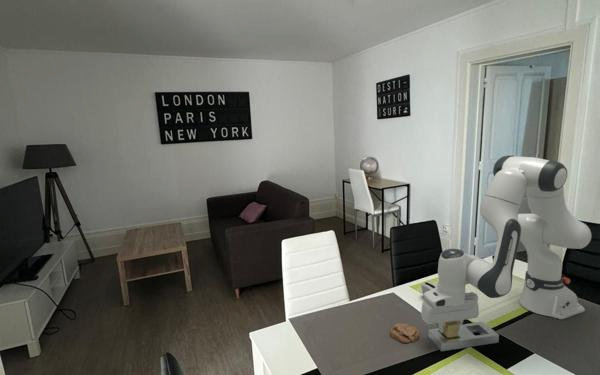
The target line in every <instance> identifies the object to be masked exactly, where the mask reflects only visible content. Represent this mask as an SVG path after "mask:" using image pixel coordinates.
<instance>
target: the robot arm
mask: <svg viewBox="0 0 600 375" xmlns="http://www.w3.org/2000/svg"><path fill="white" fill-rule="evenodd" d="M492 173H493V178H492V179H491V181H490V183H489V184H488V185H487V188H486V190H485V192H484V195H483V198H482V200H481V202H480V206H479V213H480V215H481V217H482V219H483V220H484V222H486V224H487V225H489V226H490V227H491V229H492V230H493V231H494V233H495V234H496V238H497V243H496V246H495V252H494V254H493V255H494V259H493V258H492V263H490V262H489V261H486V260H485V259H483V258H481V257H480V256H477V255H474V254H470V253H466V252H465V251H463V250H461V249H459V248H448V249H444V250H443V251H442V252H441V253H440V256H439V258H438V264H437V265H438V267H437V276H438V281H437V284H436V285H437V287H435V288H434V289H432V290H430V291H427V292H425V293H424V296H423V298H424V300H423V302H422V304H421V311H420V312H421V313H420V314H421V315H420V316H421V317H420V318H421V319H422V321H423V322H424V323H425V324H427V325H438V328H439V331H440V332H441V333H445V332H446V328H445V327H444V326H442V325H443V323H444V322H451V321H456V322H457V323H458V330H460V326H461V325H463V323H464V320H470V319H471V320H472V319H477V318H478V317H479V315H480V314H479V313H480V310H479V302H478V301H479V295H478V294H477V293H475V292H474V291H473V292H472V291H470V292H466V286H467V285H470V286H472V287H474V288H475V289H477V290H479V291H480V292H481V293H483V295H485V296H486V297H487V298H491V299H498V298H502V297H504V296H506V295H507V294H509V293H510V291H511V289H512V286H513V271H514V266H515V262H516V257H517V253H518V249H519V245H520V242H521V243H522V245H523V246H524V249H525V251H526V255H527V268H526V269H527V270H526V272H525V274H524V276H525V278H524V284H523V288H522V293H520V300H519V304H520V305H521V306H522V307H523V308H525V309H526V310H528V311H530V312H532V313H534V314H535V313H536V314H538V315H542V316H546V317H551V318H554V319H557V318H558V320H564V319H567V318H570V317H573V316H575V315H579V314H581V313H584V312H585V311H586V308H585V307H584V306H583V305H581V304H580V303H579V302H578V296H577V294H576V293H575V292H574V291H572V290H571V289H569V288H568V287H567V286H566V285H565V284H564V283H566V284H567V285H569V284H570V283H571V279H570V278H568V277H565V276H564V277H562V272H563V260H562V258H561V257H560V255H558V254H557V253H556V252H555V251H553V250H552V249H550V247H549V246H548V245H550V246H556V247H559V248H560V247H561V248H565V249H575V250H576V249H577V250H578V249H579V250H581V249H584V248H585V247H587V246H588V245H589V244H590V242H591V240H592V232H591V229H590V228H589V226H588V225H587V223H584V222H582V221H580V220H579V219H578V218H576V217H575V216H574V215H573V213H571V212H570V211H569V209H568V207H567V205H566V200H565V192H564V190H565V189H564V185H565V183H566V182H567V179H568V169H567V167H566V166H565V165H564V164H563V163H562V162H560V161H556V160H553V159H552V160H547V159H544V158H540V157H533V156H531V157H530V156H515V155H504V156H502V157H500V158H498V159H497V160H496V162H495V163H494V165H493V168H492ZM525 192H526V197H527V206H528V208H529V210H530V211H531V212H532V213H520V212H519V211H520V208H521V205H522V202H523V201H524V196H525Z"/></svg>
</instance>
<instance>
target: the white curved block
mask: <svg viewBox="0 0 600 375" xmlns="http://www.w3.org/2000/svg"><path fill="white" fill-rule="evenodd" d="M437 285H438V284H435V283H434V282H432V281H429V280H427V281H425V282H423V283H422V284H420V287H421V291H422V295H423V297H424V293H425V292H427V291H430V290H432V289H434V288H435V287H437Z"/></svg>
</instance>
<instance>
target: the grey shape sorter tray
mask: <svg viewBox="0 0 600 375" xmlns="http://www.w3.org/2000/svg"><path fill="white" fill-rule="evenodd" d="M474 333H478V334H479V335H477V334H476V335H475V334H474ZM428 339H430V340H431V341H432V342H433V343H434V345H435V346H436V347H437V348H438V350H440V352H446V351H453V350H458V349H459V350H460V349H465V348H472V347H478V346H484V345H489V344H490V345H491V344H497V343H499V342H500V341H499V339H500V334H499V333H498V332H496V331H495V330H494V329H492V327H490V326H489V325H487V324H486V323H485V322H484V321H480V322H471V323H465V324H463V323H462V325H461V326H460V330H458V338H457V339H450V340H446V339H445V338H444V337H443V336H442V334H441V332H440V331H439V327H437V328H431V329H428Z"/></svg>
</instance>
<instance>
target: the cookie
mask: <svg viewBox="0 0 600 375" xmlns="http://www.w3.org/2000/svg"><path fill="white" fill-rule="evenodd" d="M389 332H390V336H391V338H392V339H393V340H396V341H397V342H399V343H402V344H409V343H414V342H417V341H418V340H419V339H420V331H419V330H418V329H417V328H416V327H415V326H413V325H411V324H407V323H401V322H397V323H395V324H394V325H393V326H392V327H390V329H389Z"/></svg>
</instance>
